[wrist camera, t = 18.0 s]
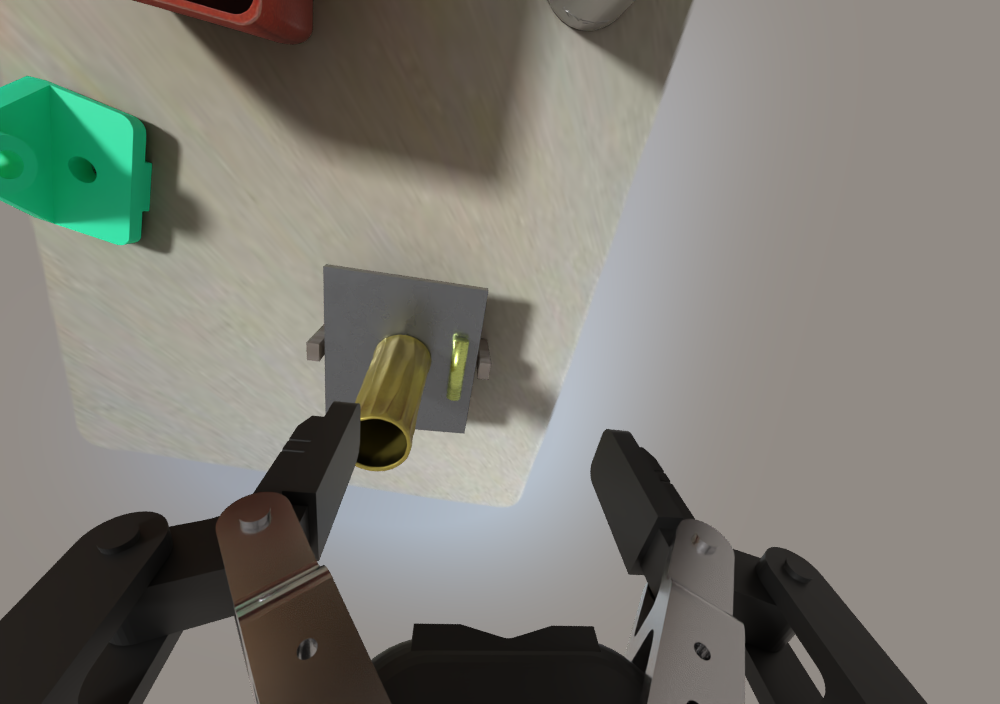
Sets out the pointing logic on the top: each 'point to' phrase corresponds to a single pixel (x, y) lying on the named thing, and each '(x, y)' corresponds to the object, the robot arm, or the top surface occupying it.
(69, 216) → the camera mount
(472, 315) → the tilt plate
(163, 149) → the top surface
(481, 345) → the levelling stand
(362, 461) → the vase
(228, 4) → the plant pot
